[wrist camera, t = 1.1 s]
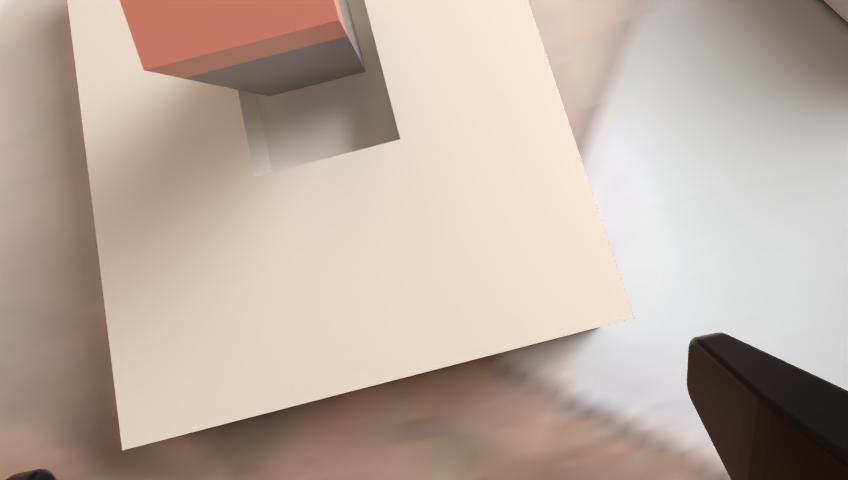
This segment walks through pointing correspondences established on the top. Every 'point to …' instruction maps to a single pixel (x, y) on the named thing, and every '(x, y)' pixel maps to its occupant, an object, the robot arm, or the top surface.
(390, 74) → the box
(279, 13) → the lever
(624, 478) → the top surface
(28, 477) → the robot arm
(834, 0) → the electrical switch
